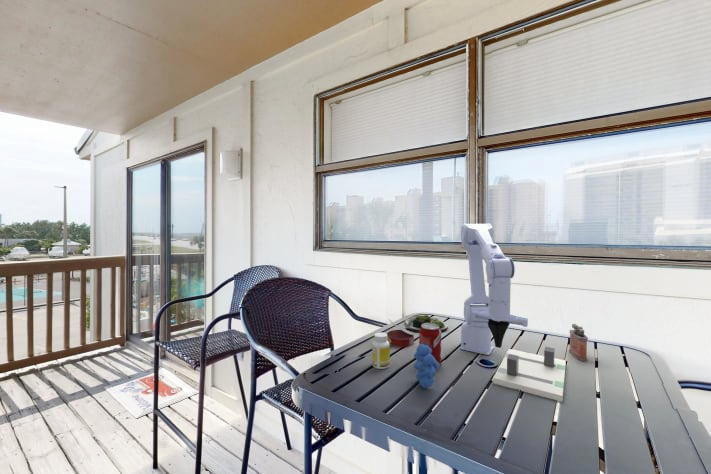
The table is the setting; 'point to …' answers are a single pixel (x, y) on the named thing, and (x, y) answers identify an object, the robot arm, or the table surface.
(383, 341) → the supplement bottle
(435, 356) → the soda can
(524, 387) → the switch plate
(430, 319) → the salad plate
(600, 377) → the table surface
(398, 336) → the dark red bowl
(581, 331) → the lighter
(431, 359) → the grapes
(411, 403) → the table surface
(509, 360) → the handle
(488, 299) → the robot arm
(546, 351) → the on handle
